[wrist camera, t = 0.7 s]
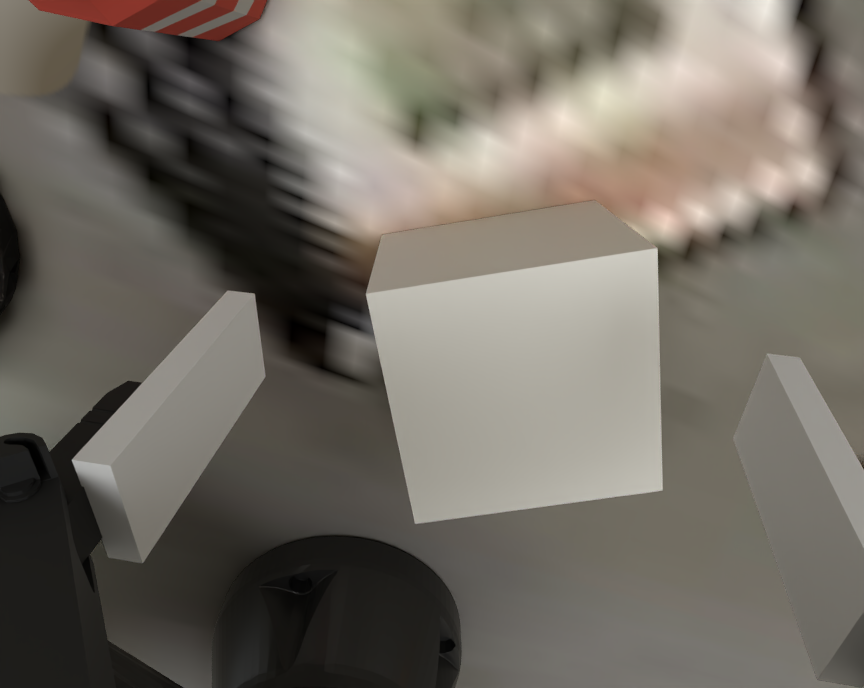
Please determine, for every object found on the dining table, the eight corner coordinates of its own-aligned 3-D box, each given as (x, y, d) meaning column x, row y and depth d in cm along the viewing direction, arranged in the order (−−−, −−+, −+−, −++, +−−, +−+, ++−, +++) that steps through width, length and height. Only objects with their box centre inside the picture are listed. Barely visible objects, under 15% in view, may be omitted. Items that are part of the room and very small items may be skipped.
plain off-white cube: (606, 390, 34) (662, 490, 26) (417, 417, 34) (415, 524, 26) (594, 199, 30) (657, 248, 22) (382, 234, 30) (365, 294, 22)
